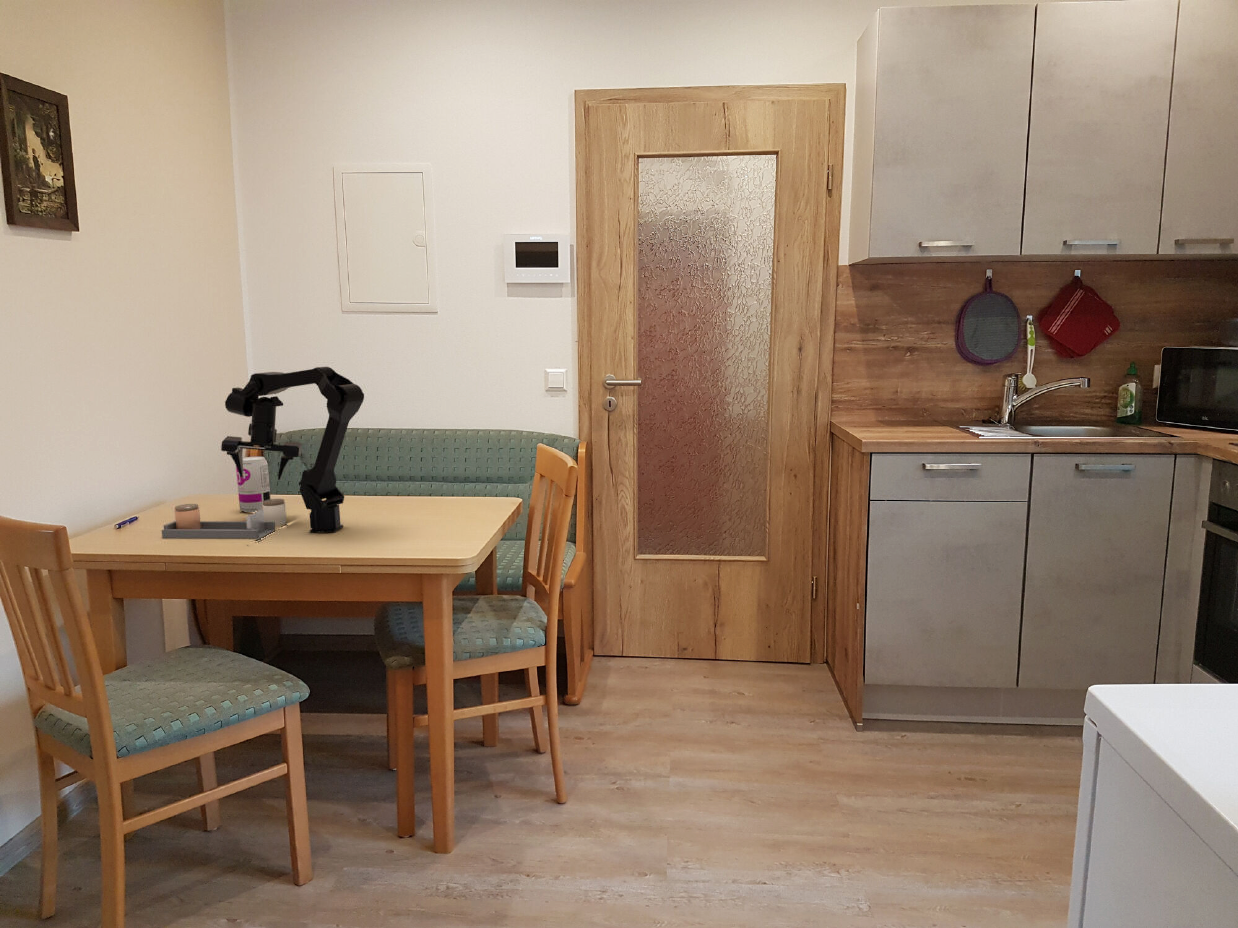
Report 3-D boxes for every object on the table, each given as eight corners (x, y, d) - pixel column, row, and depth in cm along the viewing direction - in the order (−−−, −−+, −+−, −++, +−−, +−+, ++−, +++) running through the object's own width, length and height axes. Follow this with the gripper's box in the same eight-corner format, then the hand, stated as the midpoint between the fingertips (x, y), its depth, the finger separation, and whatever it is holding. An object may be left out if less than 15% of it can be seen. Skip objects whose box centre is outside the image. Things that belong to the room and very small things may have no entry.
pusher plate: (265, 529, 214) (263, 510, 213) (251, 536, 207) (250, 516, 207) (261, 529, 214) (259, 510, 213) (247, 536, 207) (246, 516, 207)
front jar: (206, 530, 215) (203, 503, 213) (193, 536, 209) (191, 508, 208) (185, 530, 215) (182, 503, 214) (172, 536, 210) (169, 508, 208)
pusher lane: (275, 532, 215) (274, 517, 215) (257, 542, 206) (256, 526, 205) (184, 532, 217) (183, 517, 216) (162, 542, 208) (161, 526, 207)
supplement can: (250, 515, 236) (245, 461, 233) (234, 511, 241) (229, 459, 238) (277, 509, 242) (272, 457, 240) (261, 506, 247) (256, 455, 245)
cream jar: (290, 524, 224) (288, 498, 223) (281, 529, 219) (278, 503, 218) (270, 524, 225) (268, 498, 224) (260, 529, 219) (258, 503, 218)
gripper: (305, 417, 229) (301, 473, 233) (230, 410, 225) (228, 467, 228) (300, 426, 219) (296, 484, 223) (222, 419, 214) (219, 478, 218)
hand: (260, 478), depth 223 cm, fingers open, 9 cm apart
